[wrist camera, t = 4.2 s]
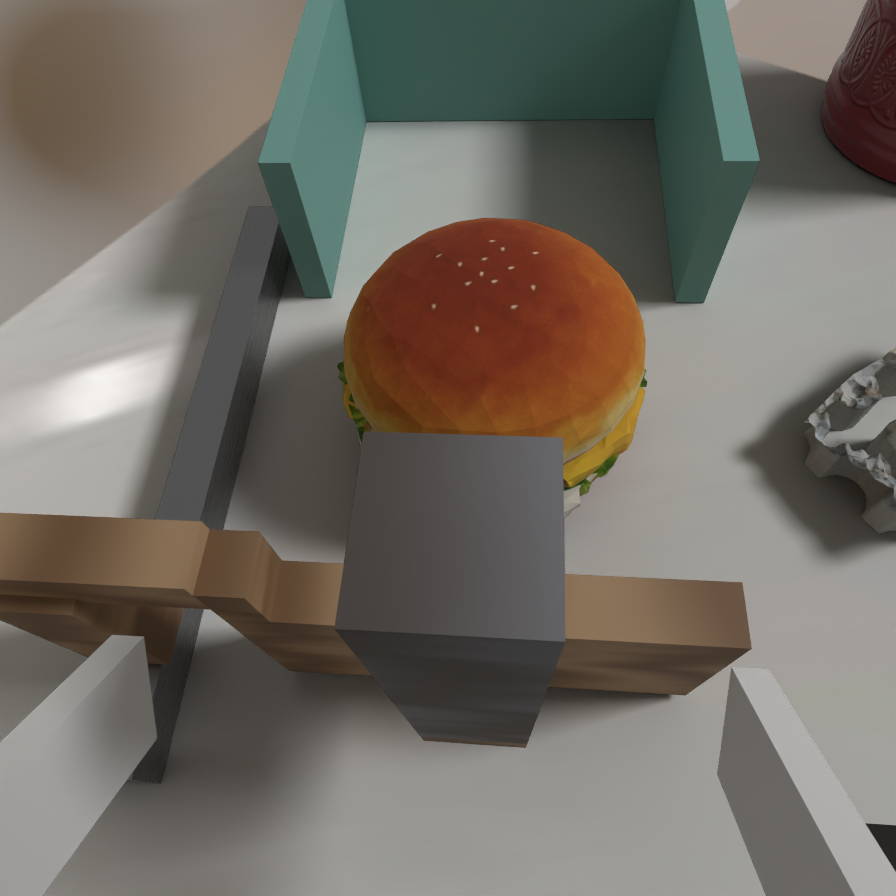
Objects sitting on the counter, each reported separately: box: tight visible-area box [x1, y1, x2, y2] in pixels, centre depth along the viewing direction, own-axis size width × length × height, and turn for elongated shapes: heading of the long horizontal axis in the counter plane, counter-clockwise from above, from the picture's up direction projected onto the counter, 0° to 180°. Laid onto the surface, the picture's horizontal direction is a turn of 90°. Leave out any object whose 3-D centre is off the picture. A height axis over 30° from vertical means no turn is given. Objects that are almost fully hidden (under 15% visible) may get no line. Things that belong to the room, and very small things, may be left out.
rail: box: [126, 207, 290, 784], centre depth 33 cm, size 2×30×2 cm, turn 176°
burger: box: [337, 218, 647, 518], centre depth 30 cm, size 13×14×10 cm
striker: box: [0, 431, 752, 748], centre depth 19 cm, size 23×6×20 cm, turn 86°
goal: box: [258, 0, 760, 303], centre depth 38 cm, size 22×17×9 cm
